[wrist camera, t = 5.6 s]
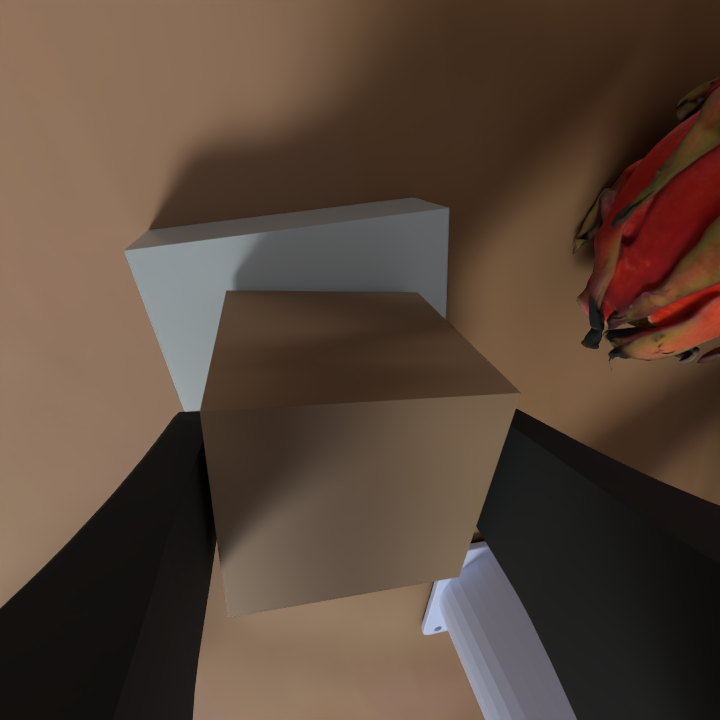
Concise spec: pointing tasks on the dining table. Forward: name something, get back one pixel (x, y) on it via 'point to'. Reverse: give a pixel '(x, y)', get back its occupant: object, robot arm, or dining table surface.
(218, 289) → the grey flat square block
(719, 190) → the dragon fruit
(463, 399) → the walnut cube
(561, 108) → the dining table surface
